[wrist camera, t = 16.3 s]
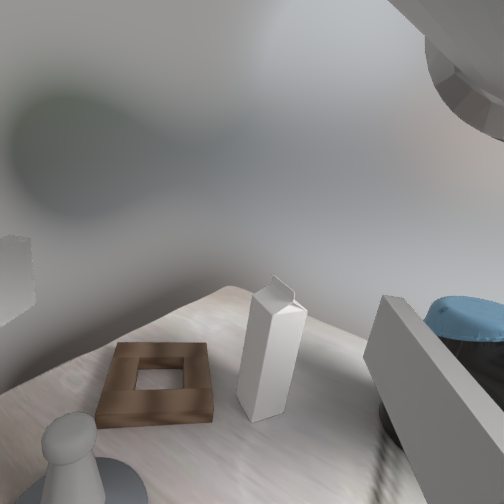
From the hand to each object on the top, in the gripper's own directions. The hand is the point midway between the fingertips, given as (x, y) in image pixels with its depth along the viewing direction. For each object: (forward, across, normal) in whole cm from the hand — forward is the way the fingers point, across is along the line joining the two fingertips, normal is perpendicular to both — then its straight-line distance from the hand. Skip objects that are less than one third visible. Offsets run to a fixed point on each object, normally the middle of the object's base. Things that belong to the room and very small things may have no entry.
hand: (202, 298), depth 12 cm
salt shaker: (+10, -12, -33) cm, 37 cm away
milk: (+30, +6, -34) cm, 46 cm away
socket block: (+31, -10, -34) cm, 47 cm away
